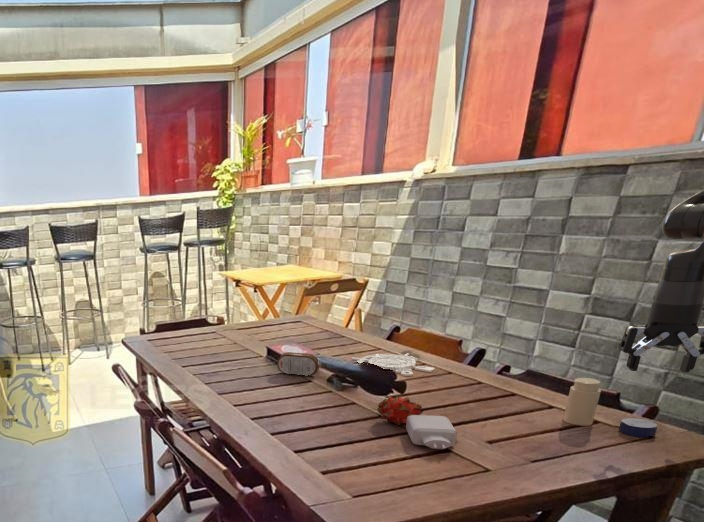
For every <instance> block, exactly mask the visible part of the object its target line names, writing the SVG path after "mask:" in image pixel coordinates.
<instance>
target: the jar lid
mask: <svg viewBox="0 0 704 522" xmlns="http://www.w3.org/2000/svg"><path fill="white" fill-rule="evenodd" d="M657 430H658V424H657V423H655V422H654V421H651V420H647V419H642V418H636V417H635V418H633V417H626V418H622V419H621V421H620V424H619V427H618V431H619V432H621V433H622V434H623V435H627V436H632V437H637V438H650V437H649V436H653V435H654V436H656V433H657ZM654 436H653V437H654Z"/></svg>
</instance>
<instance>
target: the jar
mask: <svg viewBox="0 0 704 522" xmlns="http://www.w3.org/2000/svg"><path fill="white" fill-rule="evenodd" d="M573 382H574V383H573V385H572V386H570V388H569V393H568V397H567V401H566V406H565V410H564V414H563V418H562V420H563V422H565V423H567V424H570V425H574V426H582V427H583V426H584V427H585V426H586V427H587V426H592V425H593V423H594V420H595V416H596V412H597V408H598V404H599V400H600V397H601V393H602V389H600V385H601V381H600V380H598V379H595V378H589V377H578V378H575V379H574V380H573Z"/></svg>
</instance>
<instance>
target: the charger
mask: <svg viewBox="0 0 704 522" xmlns="http://www.w3.org/2000/svg"><path fill="white" fill-rule="evenodd" d="M405 424H406V425H405V429H406V432H407V435H408V436H409V438H410V440H411V443H412V444H413V445H416V446H426V447H427V448H428V447H429V448H430V449H437V450H445V449H447V448H450V447H453V446H455V445H456V443H457V442H456V441H457V435H458V431H457V430H456V429H455V427H454V426H453V424H452V423H451V421H450V419H449V418H448V417H447V416H444V415H430V414H429V415H428V414H427V415H426V414H424V415H423V414H421V415H410V416H408V417H407V423H405Z"/></svg>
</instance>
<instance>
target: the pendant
mask: <svg viewBox="0 0 704 522" xmlns="http://www.w3.org/2000/svg"><path fill="white" fill-rule="evenodd" d="M408 355H409V356H408ZM351 361H356V363H357V362H358V363H363V362H365V363H366V362H367V364H368V363H370V364H374V365H377V366H379V367H381V368H383V369H390V370H393V371H392V372H394V373H395V374H399V375H400V374H401V376H404V377H412V376H413V375H414V372H413V370H415V371H419V372H425V373H432V372H434V371H435V369H436V368H435V367H433V366H423V365H416V364H417V362H418V361H419V359H418V358H417V357H415V356H412V355H410V353H409V352H407V353H405V354H398V353H397V354H395V353H375V354H371V355H366V356H363V357H351ZM358 363H357V364H358ZM363 364H364V363H363Z"/></svg>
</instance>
